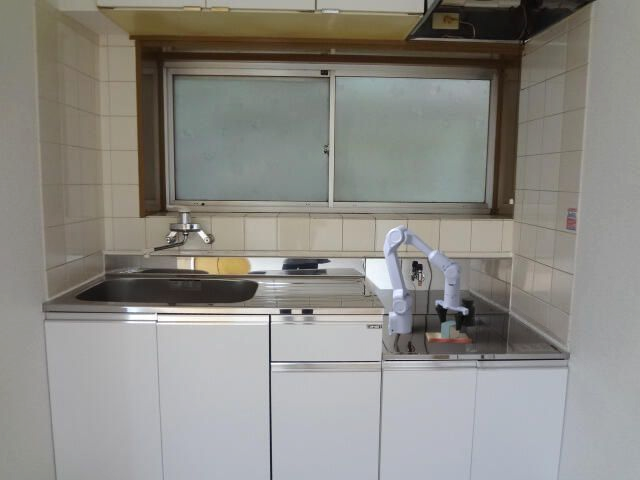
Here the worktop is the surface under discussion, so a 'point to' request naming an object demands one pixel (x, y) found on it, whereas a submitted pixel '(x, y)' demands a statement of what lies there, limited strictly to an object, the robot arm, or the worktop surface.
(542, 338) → the worktop surface
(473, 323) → the supplement bottle
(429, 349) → the worktop surface
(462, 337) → the shelf board
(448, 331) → the tea box
